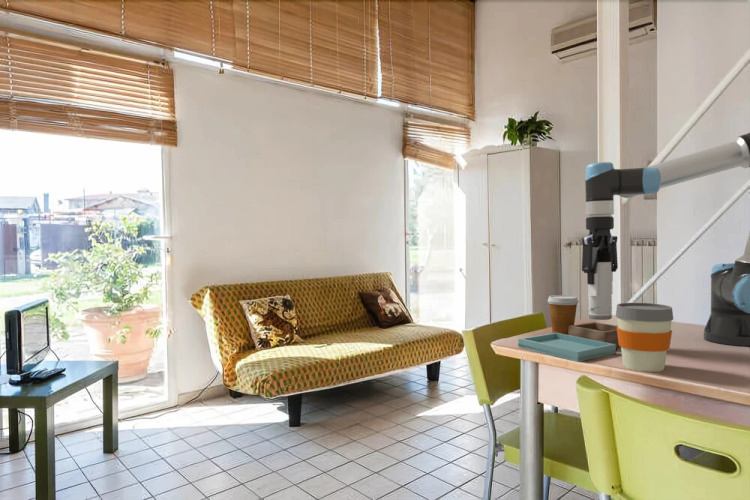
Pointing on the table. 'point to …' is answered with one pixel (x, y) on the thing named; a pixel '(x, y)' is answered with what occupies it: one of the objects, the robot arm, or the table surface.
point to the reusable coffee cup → (644, 335)
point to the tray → (567, 346)
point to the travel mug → (602, 289)
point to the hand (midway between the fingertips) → (600, 294)
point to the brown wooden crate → (596, 332)
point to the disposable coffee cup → (562, 312)
